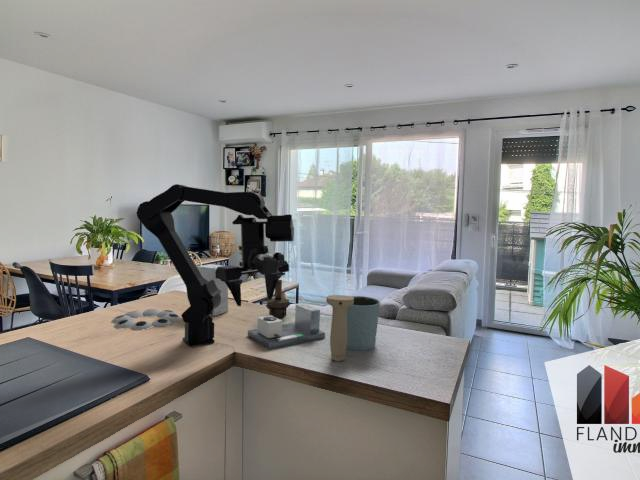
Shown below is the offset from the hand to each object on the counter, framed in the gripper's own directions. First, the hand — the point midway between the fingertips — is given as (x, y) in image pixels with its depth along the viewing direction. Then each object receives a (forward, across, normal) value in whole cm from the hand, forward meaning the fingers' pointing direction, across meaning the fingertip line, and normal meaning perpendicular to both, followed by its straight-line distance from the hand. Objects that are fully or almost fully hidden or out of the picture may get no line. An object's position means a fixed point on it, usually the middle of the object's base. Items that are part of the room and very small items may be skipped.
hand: (254, 302), depth 100 cm
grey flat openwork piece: (+10, -15, +37) cm, 41 cm away
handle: (+12, +10, -20) cm, 25 cm away
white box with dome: (+10, +5, 0) cm, 11 cm away
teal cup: (+13, +21, -16) cm, 30 cm away
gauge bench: (+11, +10, 0) cm, 15 cm away
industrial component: (+11, +19, +18) cm, 29 cm away
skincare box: (+10, +5, +34) cm, 36 cm away
